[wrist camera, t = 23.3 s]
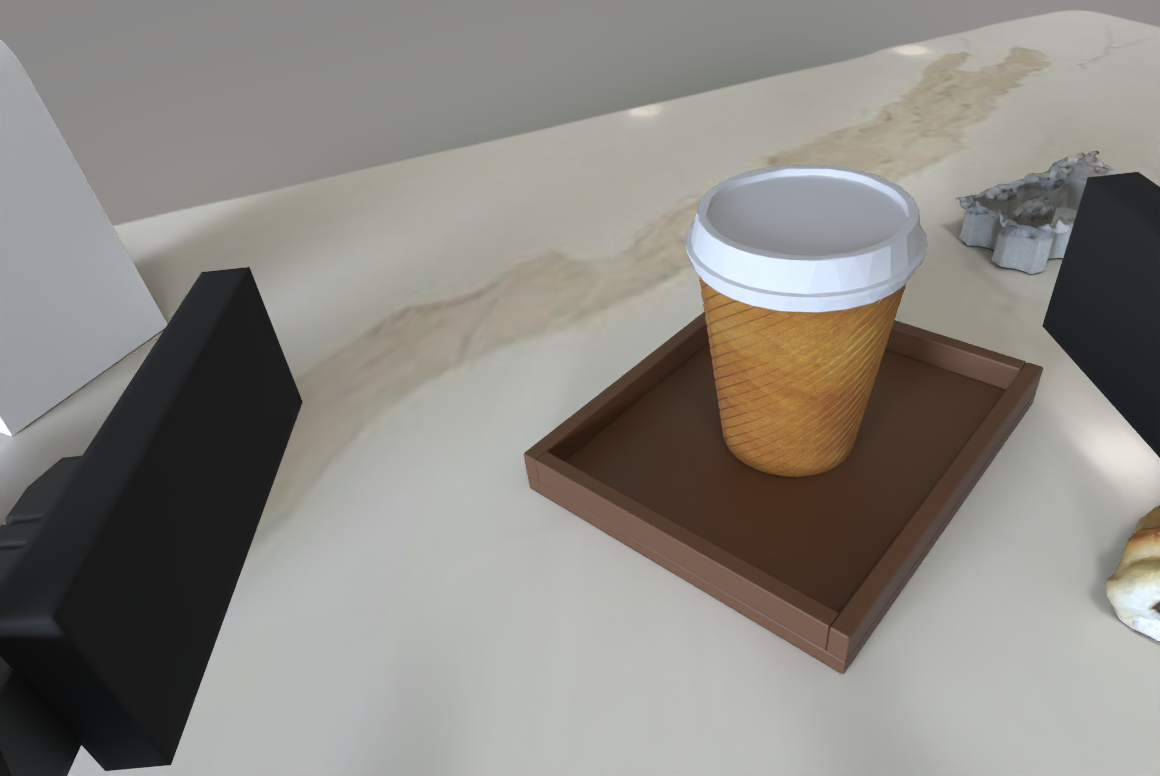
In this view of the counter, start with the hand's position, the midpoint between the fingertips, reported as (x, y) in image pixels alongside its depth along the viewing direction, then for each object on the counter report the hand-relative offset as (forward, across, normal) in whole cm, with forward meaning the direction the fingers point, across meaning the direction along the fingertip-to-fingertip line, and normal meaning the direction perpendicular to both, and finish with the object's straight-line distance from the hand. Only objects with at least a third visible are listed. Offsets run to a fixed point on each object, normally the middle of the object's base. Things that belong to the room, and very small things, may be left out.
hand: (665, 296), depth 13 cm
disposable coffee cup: (+18, +8, -20) cm, 28 cm away
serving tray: (+18, +8, -21) cm, 29 cm away
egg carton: (+35, +29, -21) cm, 50 cm away
